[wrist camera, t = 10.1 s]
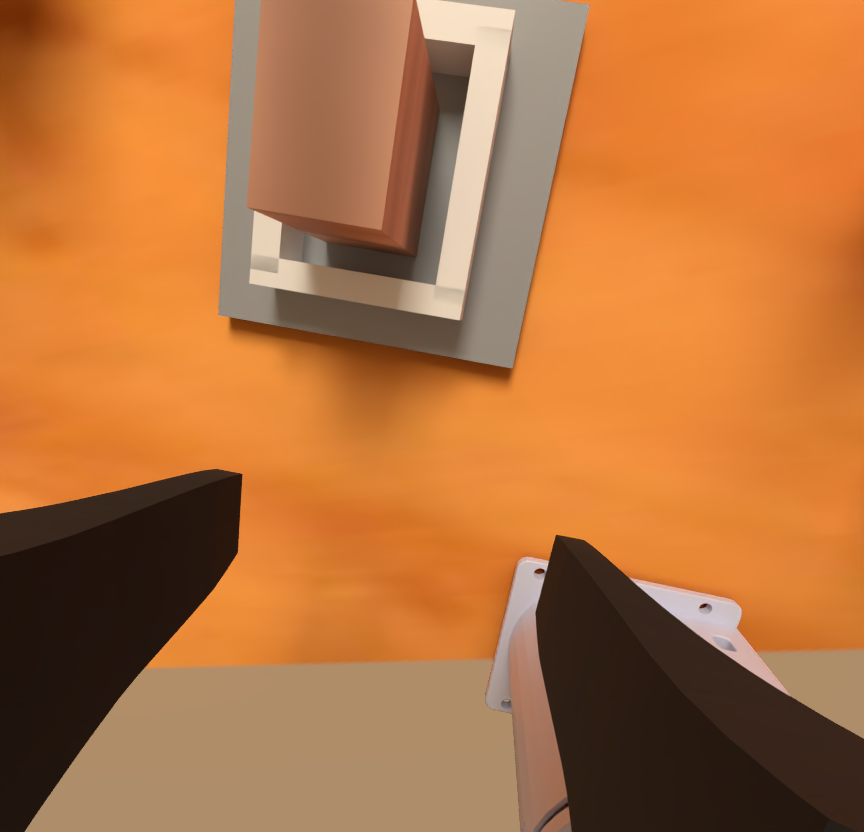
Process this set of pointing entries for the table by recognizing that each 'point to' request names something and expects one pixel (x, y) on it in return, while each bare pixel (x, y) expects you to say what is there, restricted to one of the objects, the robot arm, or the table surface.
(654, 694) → the robot arm
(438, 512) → the table surface
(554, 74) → the grey framed tray
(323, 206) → the block
